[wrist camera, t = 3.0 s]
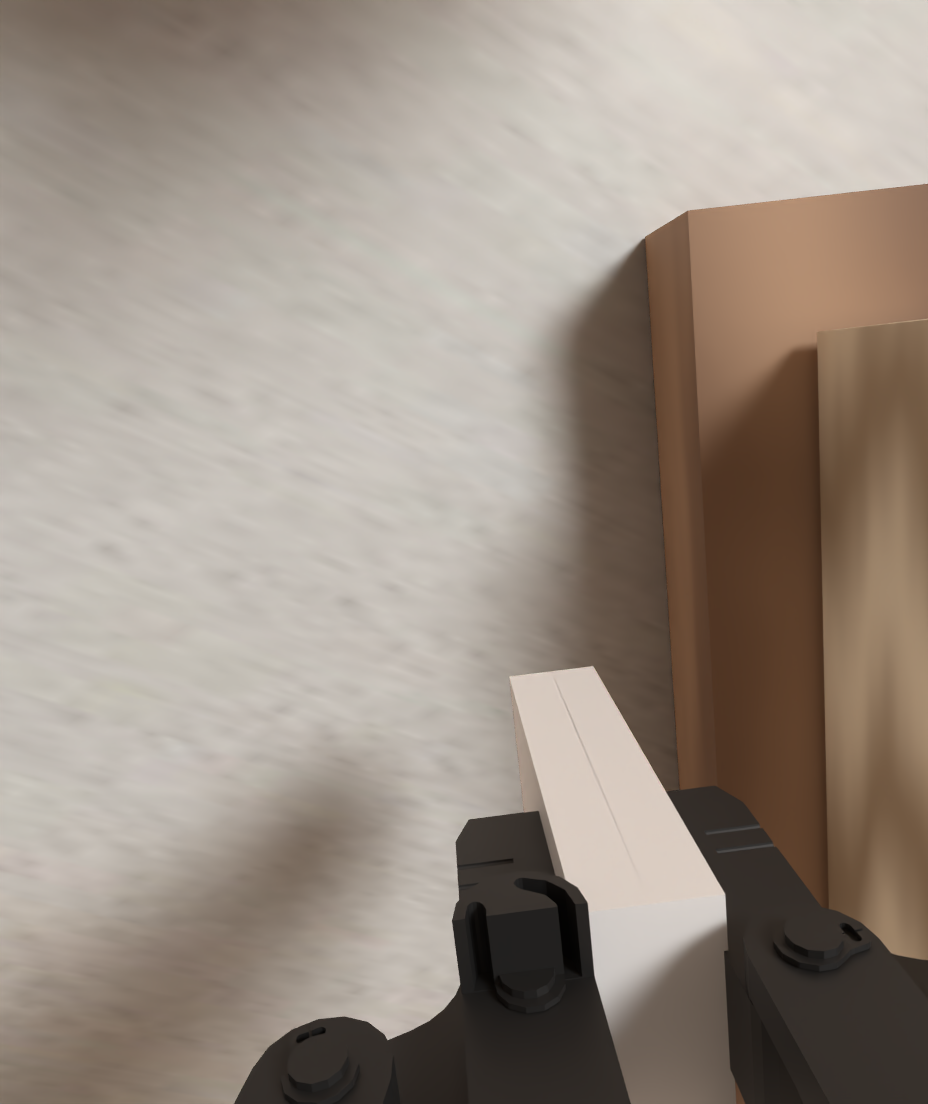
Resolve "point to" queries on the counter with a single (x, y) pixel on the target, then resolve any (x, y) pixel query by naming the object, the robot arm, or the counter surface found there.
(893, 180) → the counter surface
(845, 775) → the folding leg
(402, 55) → the counter surface
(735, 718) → the brown flat square block
